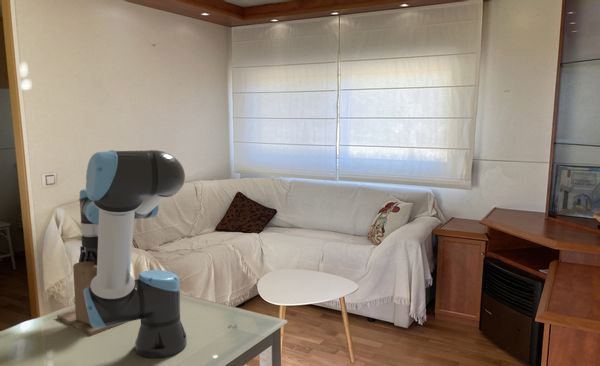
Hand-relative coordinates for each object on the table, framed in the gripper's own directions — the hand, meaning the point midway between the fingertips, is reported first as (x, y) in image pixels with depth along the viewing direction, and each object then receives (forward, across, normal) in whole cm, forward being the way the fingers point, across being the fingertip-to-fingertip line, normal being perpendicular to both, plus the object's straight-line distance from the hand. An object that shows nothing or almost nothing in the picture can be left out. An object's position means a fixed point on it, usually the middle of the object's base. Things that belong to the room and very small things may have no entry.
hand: (96, 295), depth 158 cm
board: (+9, +2, 0) cm, 10 cm away
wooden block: (+8, 0, 0) cm, 8 cm away
